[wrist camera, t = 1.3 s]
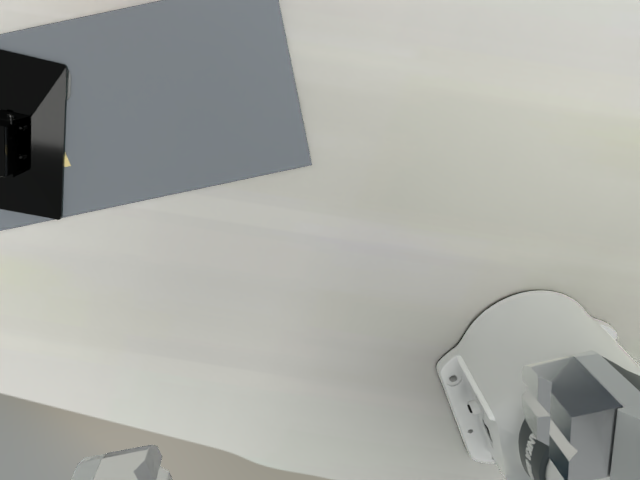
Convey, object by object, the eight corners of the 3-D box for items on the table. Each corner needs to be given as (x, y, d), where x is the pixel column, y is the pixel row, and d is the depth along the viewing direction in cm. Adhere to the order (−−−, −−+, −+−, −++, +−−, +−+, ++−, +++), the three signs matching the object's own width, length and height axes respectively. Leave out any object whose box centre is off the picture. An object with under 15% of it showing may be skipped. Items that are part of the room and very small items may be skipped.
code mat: (311, 164, 38) (312, 164, 38) (-25, 235, 38) (-27, 236, 38) (273, -23, 33) (273, -24, 33) (-119, 60, 33) (-123, 60, 32)
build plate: (-35, 40, 33) (-82, 37, 28) (73, 65, 34) (43, 66, 30) (-30, 202, 37) (-70, 221, 33) (66, 219, 38) (39, 240, 34)
